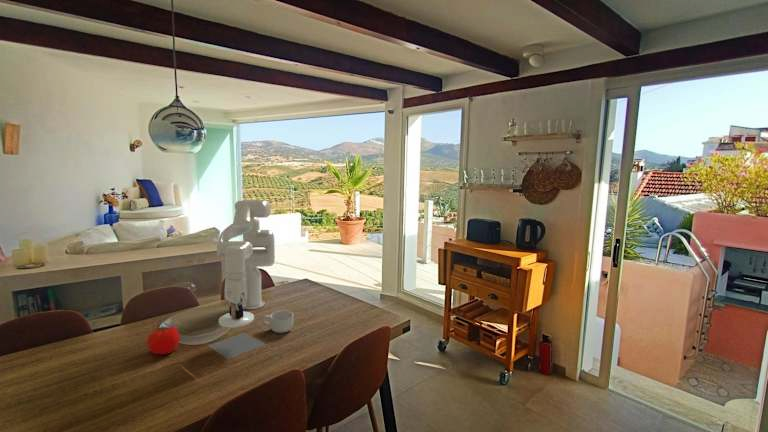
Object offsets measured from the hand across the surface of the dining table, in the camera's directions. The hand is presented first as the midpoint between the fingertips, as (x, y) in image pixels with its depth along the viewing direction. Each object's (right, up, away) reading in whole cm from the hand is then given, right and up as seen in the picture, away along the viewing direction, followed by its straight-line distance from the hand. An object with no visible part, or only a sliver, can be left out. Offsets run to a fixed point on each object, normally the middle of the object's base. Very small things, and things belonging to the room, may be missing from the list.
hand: (236, 316), depth 155 cm
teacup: (+13, -12, +17) cm, 25 cm away
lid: (0, -2, 0) cm, 2 cm away
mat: (0, -13, +1) cm, 13 cm away
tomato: (-27, -13, -5) cm, 31 cm away
